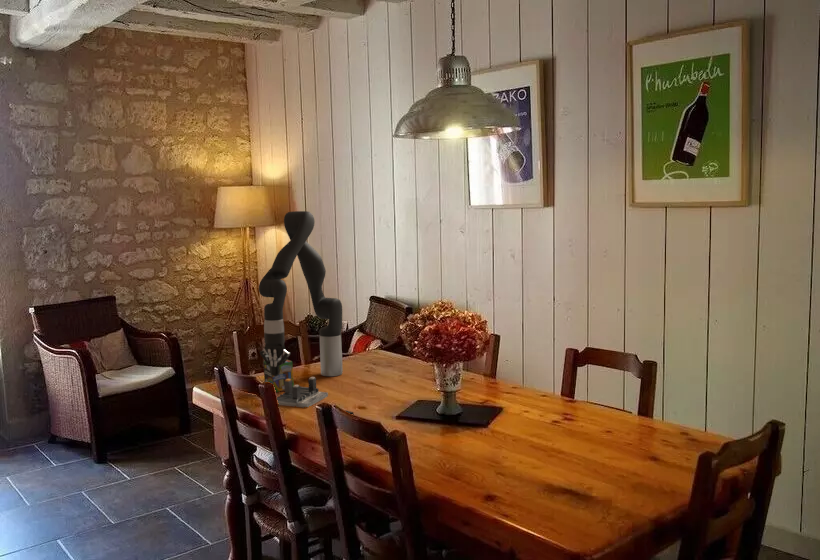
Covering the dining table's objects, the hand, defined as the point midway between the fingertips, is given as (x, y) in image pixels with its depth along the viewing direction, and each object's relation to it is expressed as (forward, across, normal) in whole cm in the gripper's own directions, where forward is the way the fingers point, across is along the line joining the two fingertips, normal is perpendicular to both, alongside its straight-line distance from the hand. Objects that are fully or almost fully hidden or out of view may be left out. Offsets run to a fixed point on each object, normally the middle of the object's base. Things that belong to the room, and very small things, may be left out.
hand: (275, 375), depth 285 cm
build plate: (+10, -40, +20) cm, 46 cm away
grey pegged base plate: (+9, -10, 0) cm, 14 cm away
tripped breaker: (+7, -5, 0) cm, 9 cm away
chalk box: (+9, +6, -12) cm, 16 cm away
